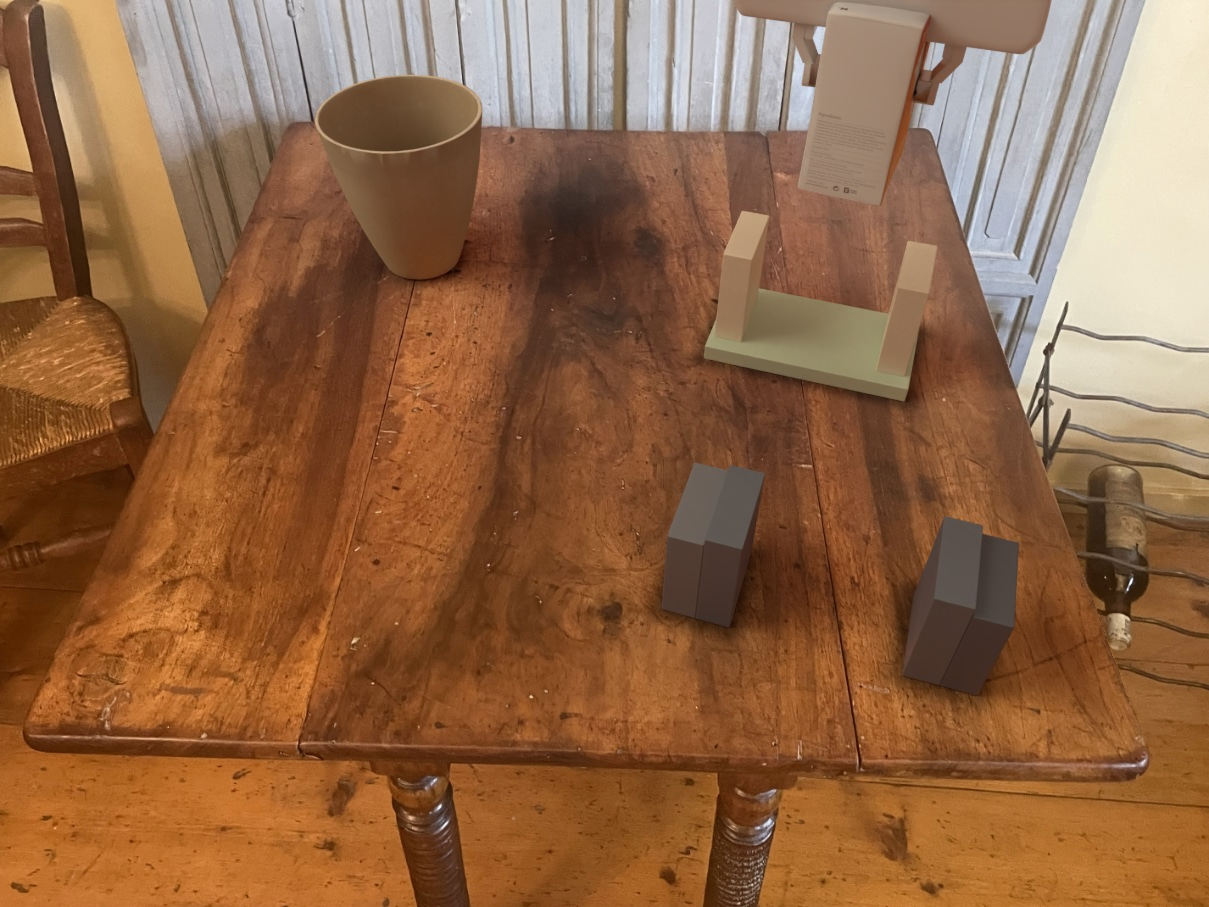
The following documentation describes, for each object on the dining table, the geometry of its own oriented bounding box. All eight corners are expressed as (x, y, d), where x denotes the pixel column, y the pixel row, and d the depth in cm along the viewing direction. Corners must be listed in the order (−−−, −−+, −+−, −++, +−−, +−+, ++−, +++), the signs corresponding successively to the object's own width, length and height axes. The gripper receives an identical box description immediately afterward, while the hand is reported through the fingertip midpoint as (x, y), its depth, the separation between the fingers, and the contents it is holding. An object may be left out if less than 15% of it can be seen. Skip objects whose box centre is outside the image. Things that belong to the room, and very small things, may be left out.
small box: (881, 209, 71) (925, 28, 61) (795, 190, 72) (825, 11, 63) (903, 156, 76) (947, -19, 66) (823, 139, 78) (854, -34, 68)
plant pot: (524, 243, 102) (514, 96, 90) (436, 321, 93) (413, 170, 82) (410, 202, 107) (387, 59, 96) (317, 273, 98) (278, 124, 87)
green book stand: (917, 332, 92) (945, 237, 85) (904, 402, 86) (933, 305, 78) (729, 294, 96) (740, 200, 88) (703, 358, 90) (712, 262, 82)
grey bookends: (984, 613, 70) (1023, 534, 64) (977, 696, 66) (1018, 620, 59) (686, 537, 75) (695, 456, 69) (661, 609, 71) (667, 529, 64)
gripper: (1093, -124, 59) (1021, 94, 69) (760, -158, 64) (737, 52, 74) (1095, -90, 55) (1018, 137, 65) (738, -129, 60) (717, 90, 70)
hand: (867, 92), depth 70 cm, fingers closed on small box, 6 cm apart
